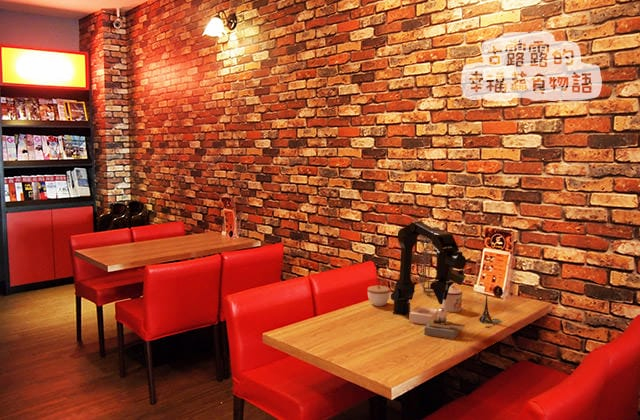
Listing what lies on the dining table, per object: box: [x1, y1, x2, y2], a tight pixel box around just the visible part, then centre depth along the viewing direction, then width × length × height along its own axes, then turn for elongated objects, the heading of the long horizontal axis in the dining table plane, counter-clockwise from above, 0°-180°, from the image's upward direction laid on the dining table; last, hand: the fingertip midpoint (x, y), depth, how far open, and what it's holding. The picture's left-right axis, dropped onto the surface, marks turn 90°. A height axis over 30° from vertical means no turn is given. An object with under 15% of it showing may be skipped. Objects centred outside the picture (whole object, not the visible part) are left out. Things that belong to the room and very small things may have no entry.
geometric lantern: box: [418, 226, 444, 297], centre depth 275 cm, size 16×16×35 cm
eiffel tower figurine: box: [477, 294, 503, 329], centre depth 233 cm, size 15×10×13 cm
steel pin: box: [437, 307, 448, 325], centre depth 220 cm, size 3×3×10 cm
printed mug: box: [441, 284, 463, 313], centre depth 252 cm, size 12×9×12 cm
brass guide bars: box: [429, 315, 466, 331], centre depth 220 cm, size 14×6×3 cm, turn 64°
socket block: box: [424, 323, 460, 340], centre depth 221 cm, size 12×10×3 cm
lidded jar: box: [367, 284, 391, 307], centre depth 260 cm, size 11×11×9 cm
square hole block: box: [408, 306, 439, 326], centre depth 236 cm, size 10×10×4 cm
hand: (442, 301), depth 219 cm, fingers open, 6 cm apart
